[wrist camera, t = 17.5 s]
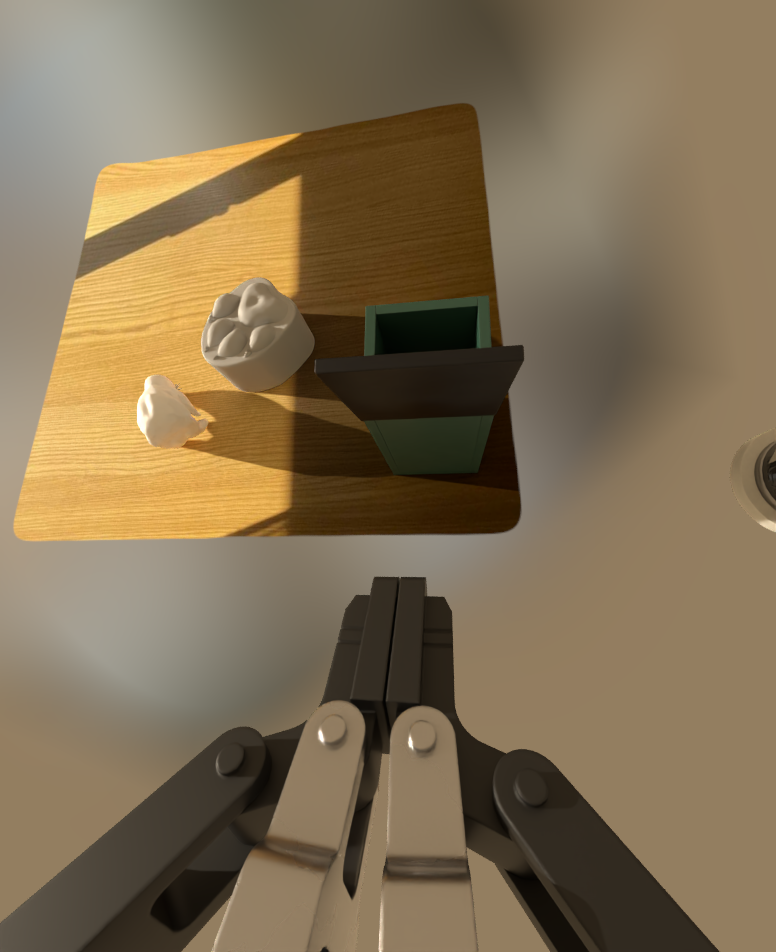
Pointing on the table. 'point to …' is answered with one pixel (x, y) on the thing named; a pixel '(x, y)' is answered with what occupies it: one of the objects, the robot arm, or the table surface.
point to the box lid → (423, 382)
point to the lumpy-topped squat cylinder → (256, 336)
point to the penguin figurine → (167, 414)
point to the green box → (424, 330)
